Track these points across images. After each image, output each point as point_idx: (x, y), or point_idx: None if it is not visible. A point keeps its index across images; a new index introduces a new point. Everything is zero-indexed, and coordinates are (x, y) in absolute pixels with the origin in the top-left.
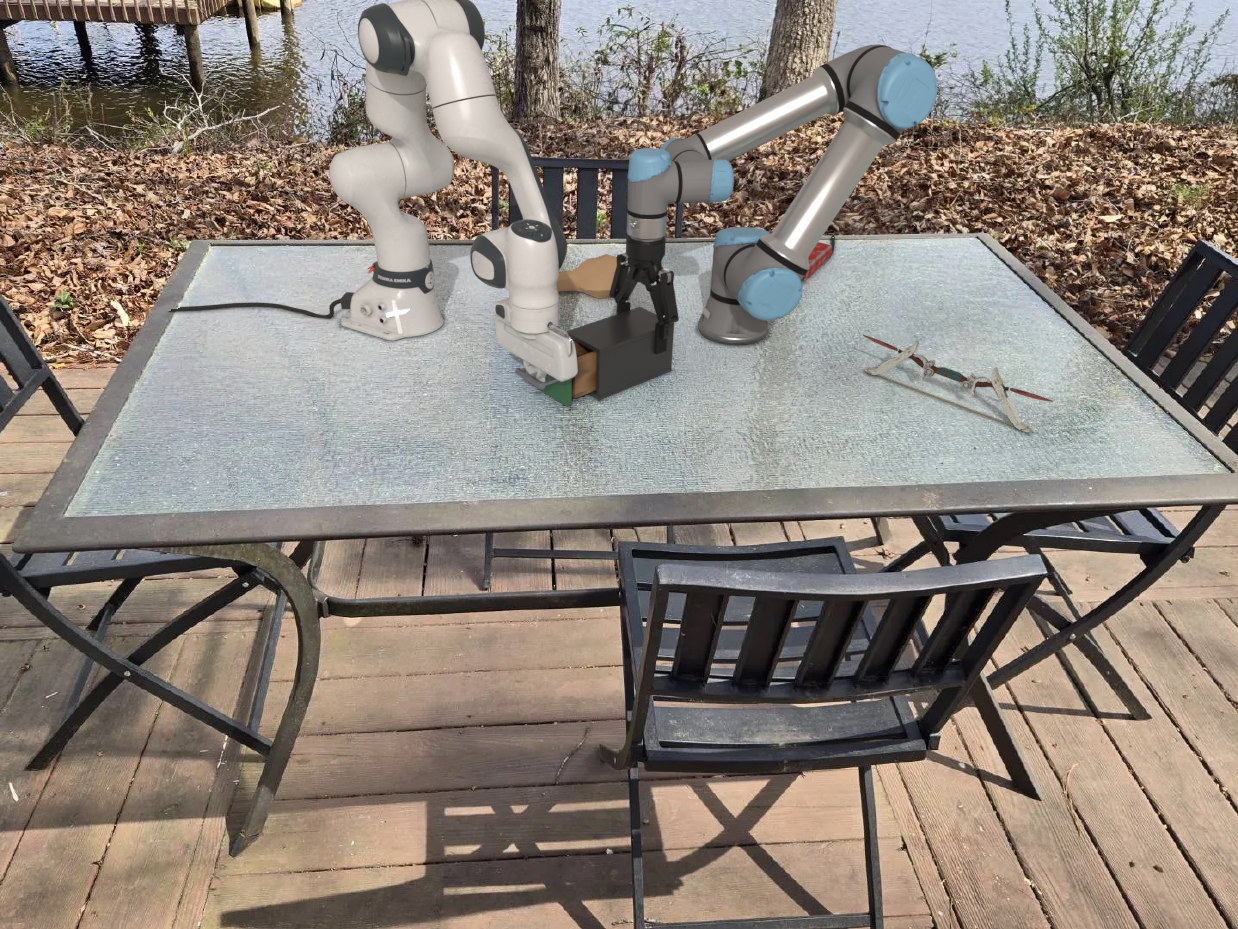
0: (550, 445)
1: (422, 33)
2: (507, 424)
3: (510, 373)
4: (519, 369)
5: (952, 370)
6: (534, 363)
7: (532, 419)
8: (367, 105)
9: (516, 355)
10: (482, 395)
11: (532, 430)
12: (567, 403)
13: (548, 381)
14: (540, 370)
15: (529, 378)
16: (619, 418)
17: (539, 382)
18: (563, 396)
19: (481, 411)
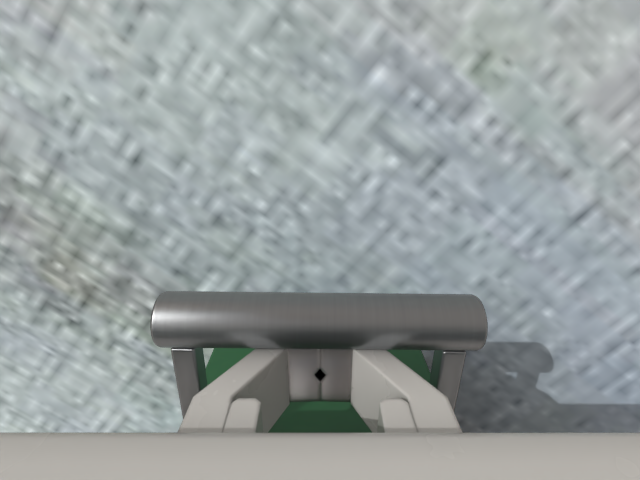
0: (6, 107)
1: None
2: (286, 60)
3: (615, 339)
4: (454, 333)
5: None
6: (176, 469)
7: (254, 186)
8: None
9: (557, 435)
10: (592, 138)
11: (169, 125)
12: (214, 350)
13: (183, 379)
14: (184, 423)
15: (295, 311)
16: (85, 415)
17: (176, 325)
18: (230, 365)
19: (482, 30)
